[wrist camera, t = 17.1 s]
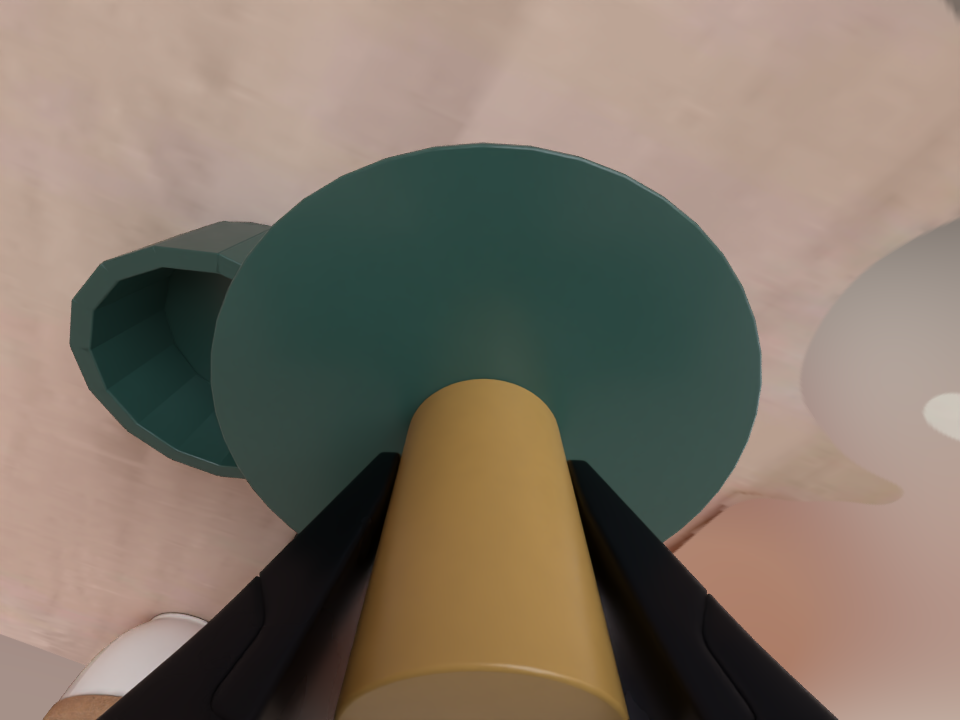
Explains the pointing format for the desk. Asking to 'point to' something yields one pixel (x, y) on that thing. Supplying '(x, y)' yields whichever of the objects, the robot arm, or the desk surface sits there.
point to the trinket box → (124, 666)
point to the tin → (162, 339)
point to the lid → (486, 407)
